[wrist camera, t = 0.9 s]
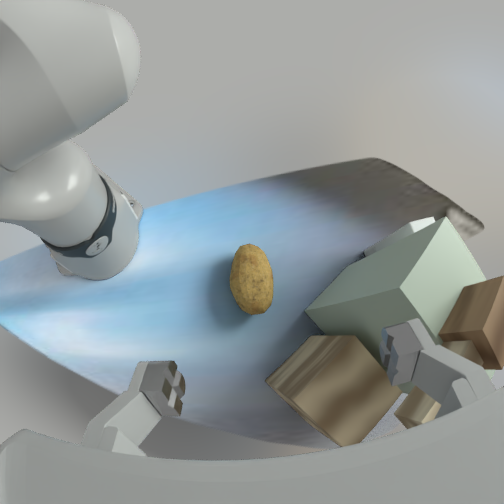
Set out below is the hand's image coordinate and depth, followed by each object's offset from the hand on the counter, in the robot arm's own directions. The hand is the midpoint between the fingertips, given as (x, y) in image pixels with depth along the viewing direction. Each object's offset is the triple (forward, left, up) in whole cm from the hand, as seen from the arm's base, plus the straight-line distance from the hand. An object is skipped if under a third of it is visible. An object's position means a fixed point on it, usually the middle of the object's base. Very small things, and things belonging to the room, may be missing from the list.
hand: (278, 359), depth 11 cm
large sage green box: (+17, +20, -37) cm, 45 cm away
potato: (-3, +10, -37) cm, 38 cm away
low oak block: (+17, +6, -37) cm, 41 cm away
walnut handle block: (+17, +13, -11) cm, 24 cm away
